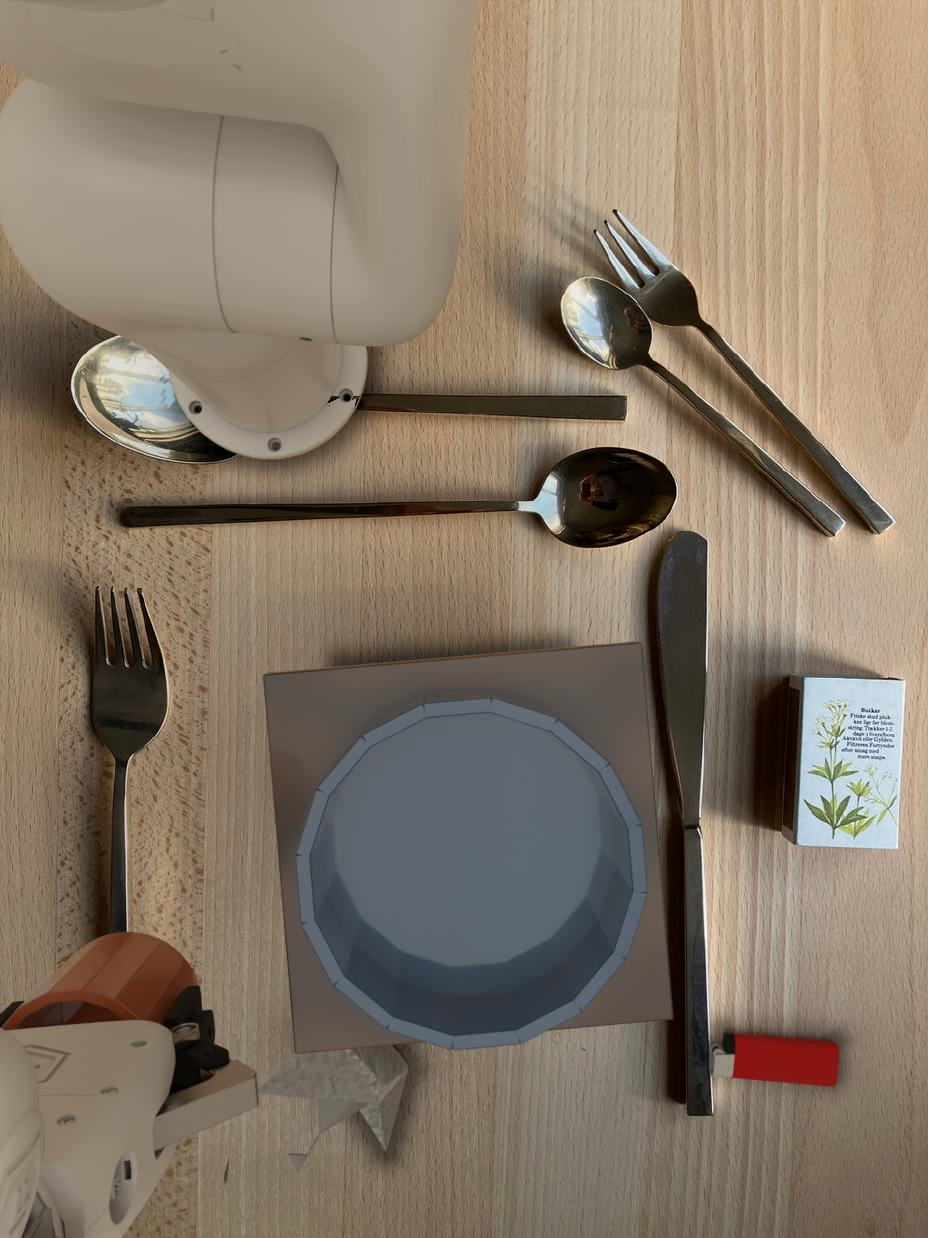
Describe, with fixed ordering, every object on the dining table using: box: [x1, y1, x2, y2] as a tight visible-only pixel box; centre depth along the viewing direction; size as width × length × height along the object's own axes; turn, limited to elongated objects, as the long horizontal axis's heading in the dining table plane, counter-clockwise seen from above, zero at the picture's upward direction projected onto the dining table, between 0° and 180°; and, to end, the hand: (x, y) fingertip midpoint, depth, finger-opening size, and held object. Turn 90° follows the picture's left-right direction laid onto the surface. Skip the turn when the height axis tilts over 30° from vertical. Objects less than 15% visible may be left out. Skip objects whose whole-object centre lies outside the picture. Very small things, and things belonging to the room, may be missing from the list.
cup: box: [1, 931, 200, 1031], centre depth 47 cm, size 7×7×8 cm
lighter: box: [708, 1032, 840, 1088], centre depth 68 cm, size 3×1×8 cm
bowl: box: [295, 689, 648, 1051], centre depth 42 cm, size 13×13×4 cm
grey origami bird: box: [258, 1045, 410, 1173], centre depth 65 cm, size 12×6×9 cm
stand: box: [262, 641, 674, 1055], centre depth 56 cm, size 16×16×24 cm
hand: (110, 1026), depth 48 cm, fingers closed on cup, 7 cm apart
